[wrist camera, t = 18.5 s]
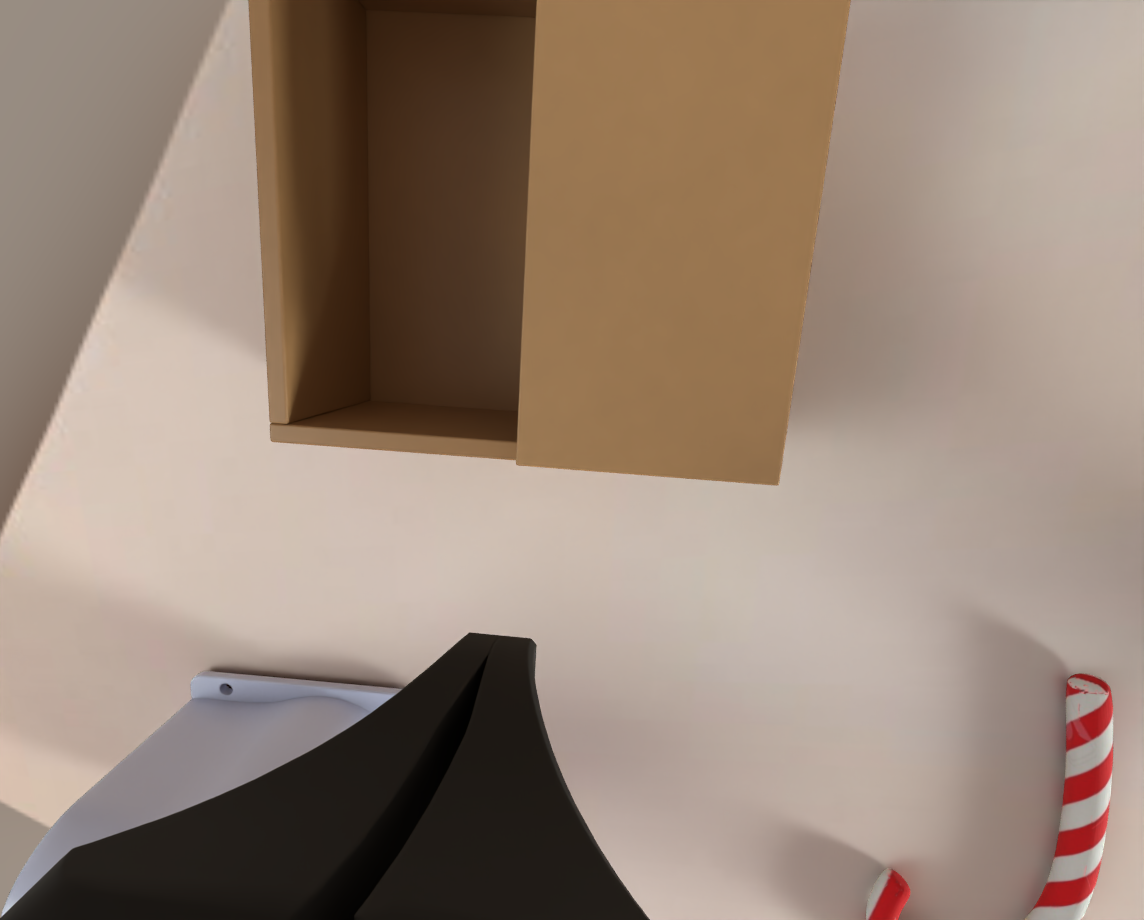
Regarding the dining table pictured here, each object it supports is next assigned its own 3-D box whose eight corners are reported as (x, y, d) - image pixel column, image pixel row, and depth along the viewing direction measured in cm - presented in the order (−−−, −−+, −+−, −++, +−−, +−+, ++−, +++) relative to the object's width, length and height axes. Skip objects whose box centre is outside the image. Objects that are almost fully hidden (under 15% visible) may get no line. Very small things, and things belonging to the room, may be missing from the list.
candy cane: (1202, 708, 20) (1039, 1024, 23) (1167, 685, 21) (1017, 988, 25) (983, 661, 20) (852, 982, 24) (961, 641, 22) (839, 948, 25)
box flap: (867, -152, 11) (877, -170, 11) (774, 482, 14) (779, 486, 14) (546, -160, 12) (543, -178, 11) (518, 461, 14) (515, 465, 14)
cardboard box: (776, 19, 18) (862, -138, 12) (724, 437, 20) (773, 479, 15) (357, 0, 18) (239, -160, 12) (363, 411, 21) (269, 442, 15)
